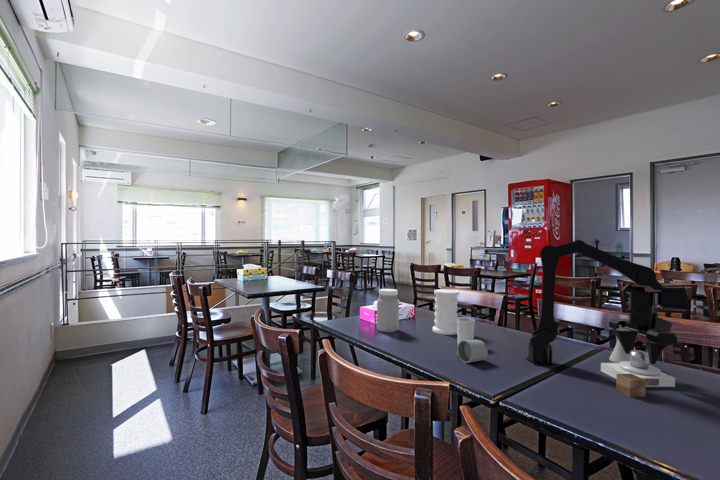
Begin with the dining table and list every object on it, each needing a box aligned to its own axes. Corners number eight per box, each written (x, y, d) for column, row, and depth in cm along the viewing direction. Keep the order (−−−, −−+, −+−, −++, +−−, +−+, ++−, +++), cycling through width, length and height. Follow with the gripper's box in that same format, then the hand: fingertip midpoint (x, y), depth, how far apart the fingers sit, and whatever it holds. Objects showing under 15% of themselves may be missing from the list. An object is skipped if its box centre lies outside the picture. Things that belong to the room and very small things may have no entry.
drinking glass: (477, 345, 138) (478, 320, 138) (466, 348, 134) (467, 322, 134) (464, 341, 143) (464, 316, 143) (452, 343, 139) (453, 318, 139)
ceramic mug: (489, 362, 119) (489, 340, 119) (471, 366, 115) (471, 343, 115) (467, 354, 128) (468, 333, 128) (450, 356, 124) (450, 335, 124)
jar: (402, 330, 158) (403, 290, 158) (389, 334, 151) (390, 292, 151) (385, 326, 165) (386, 287, 165) (371, 329, 158) (372, 289, 158)
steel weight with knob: (638, 369, 105) (638, 354, 105) (626, 364, 110) (626, 349, 109) (652, 369, 105) (652, 354, 105) (640, 364, 110) (640, 349, 110)
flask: (640, 367, 117) (640, 337, 117) (615, 365, 119) (616, 335, 119) (628, 360, 125) (628, 331, 124) (605, 358, 126) (605, 330, 126)
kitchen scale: (632, 387, 101) (632, 375, 101) (600, 370, 113) (601, 360, 113) (676, 387, 101) (676, 375, 101) (640, 371, 114) (640, 360, 114)
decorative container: (438, 335, 152) (439, 293, 152) (428, 328, 163) (429, 289, 163) (463, 334, 154) (464, 292, 154) (451, 327, 165) (452, 289, 165)
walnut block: (629, 397, 94) (630, 380, 94) (616, 389, 99) (616, 373, 99) (645, 397, 95) (645, 380, 95) (631, 389, 99) (631, 373, 99)
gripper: (697, 314, 98) (695, 370, 98) (640, 301, 117) (639, 349, 117) (658, 313, 98) (657, 370, 98) (608, 301, 116) (607, 348, 117)
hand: (639, 358), depth 107 cm, fingers open, 9 cm apart
